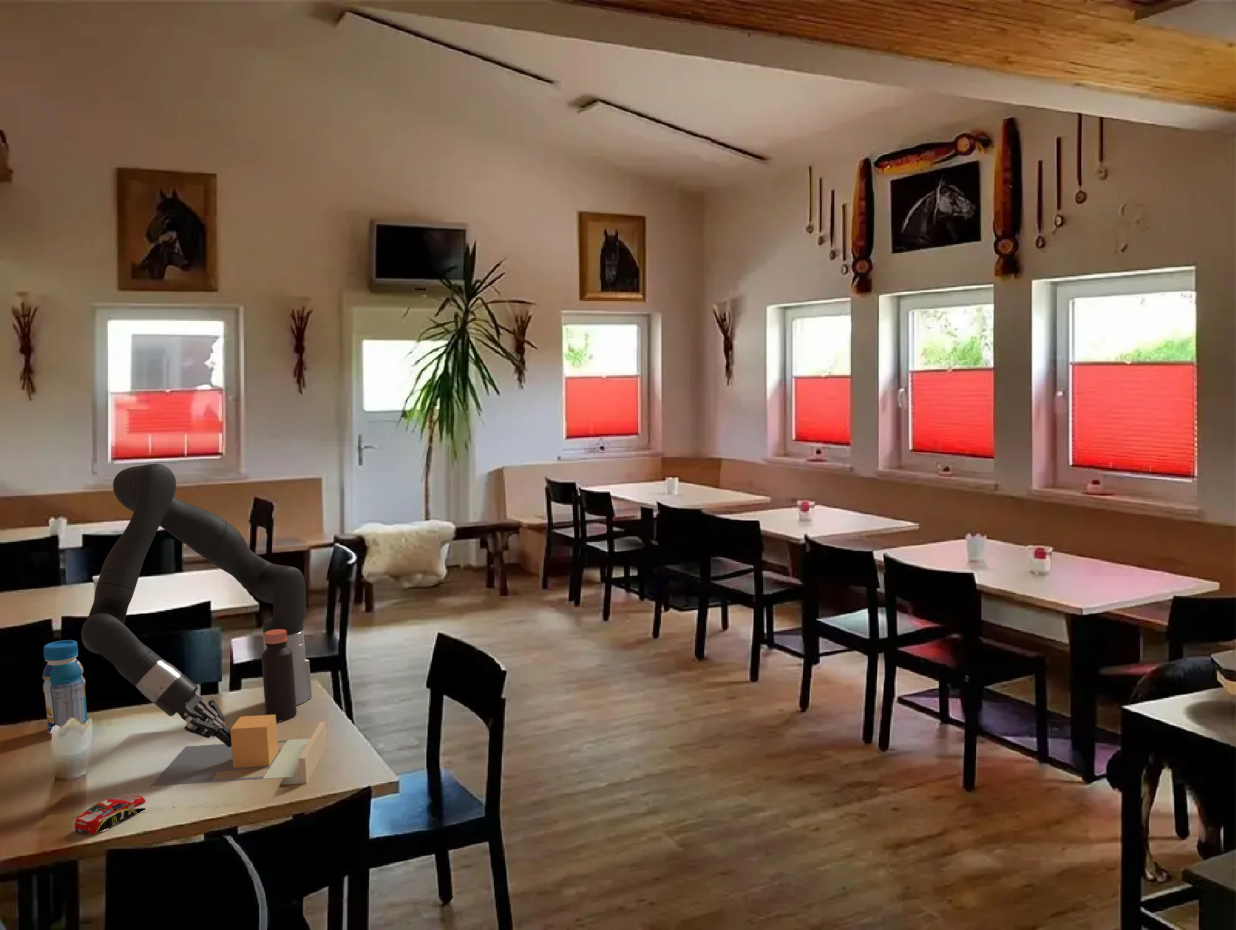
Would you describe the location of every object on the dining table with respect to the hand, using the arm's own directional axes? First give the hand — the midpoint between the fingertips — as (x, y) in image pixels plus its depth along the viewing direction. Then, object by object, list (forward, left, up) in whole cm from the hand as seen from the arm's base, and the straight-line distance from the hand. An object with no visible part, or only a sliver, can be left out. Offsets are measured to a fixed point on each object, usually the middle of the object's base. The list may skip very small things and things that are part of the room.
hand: (234, 742), depth 206 cm
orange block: (-3, +3, -4) cm, 6 cm away
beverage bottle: (+10, -53, -6) cm, 55 cm away
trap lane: (-1, +1, -5) cm, 5 cm away
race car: (+26, +3, -6) cm, 27 cm away
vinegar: (-23, -19, -5) cm, 30 cm away
